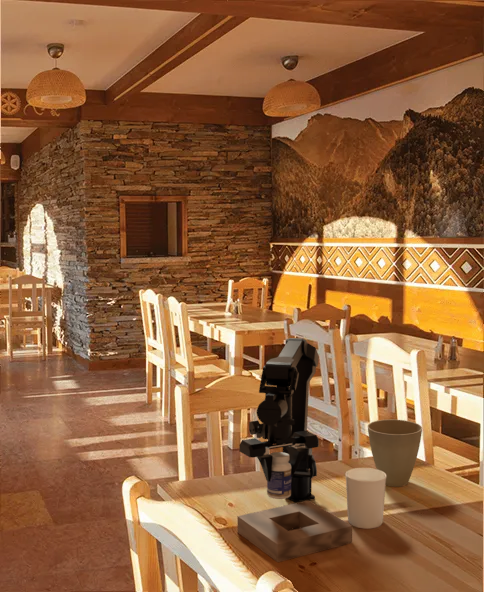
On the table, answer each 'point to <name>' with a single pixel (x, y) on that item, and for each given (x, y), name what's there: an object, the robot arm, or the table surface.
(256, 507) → the table surface
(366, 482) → the candle holder
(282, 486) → the pill bottle
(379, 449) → the plant pot
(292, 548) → the well block
